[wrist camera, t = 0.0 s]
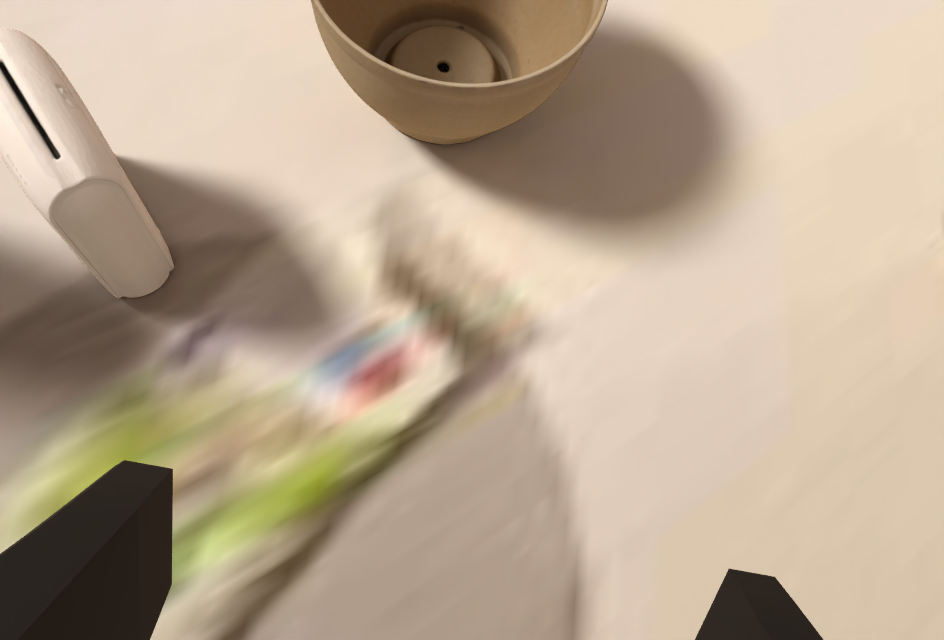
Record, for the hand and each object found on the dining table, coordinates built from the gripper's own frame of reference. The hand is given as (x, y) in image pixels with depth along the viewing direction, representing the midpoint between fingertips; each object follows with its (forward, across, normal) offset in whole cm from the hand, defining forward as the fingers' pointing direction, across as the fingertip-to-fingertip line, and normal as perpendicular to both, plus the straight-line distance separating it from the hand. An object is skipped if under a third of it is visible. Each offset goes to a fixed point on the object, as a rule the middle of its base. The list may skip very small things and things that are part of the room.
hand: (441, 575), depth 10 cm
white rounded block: (+34, +20, +13) cm, 42 cm away
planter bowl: (+45, +3, +4) cm, 45 cm away
